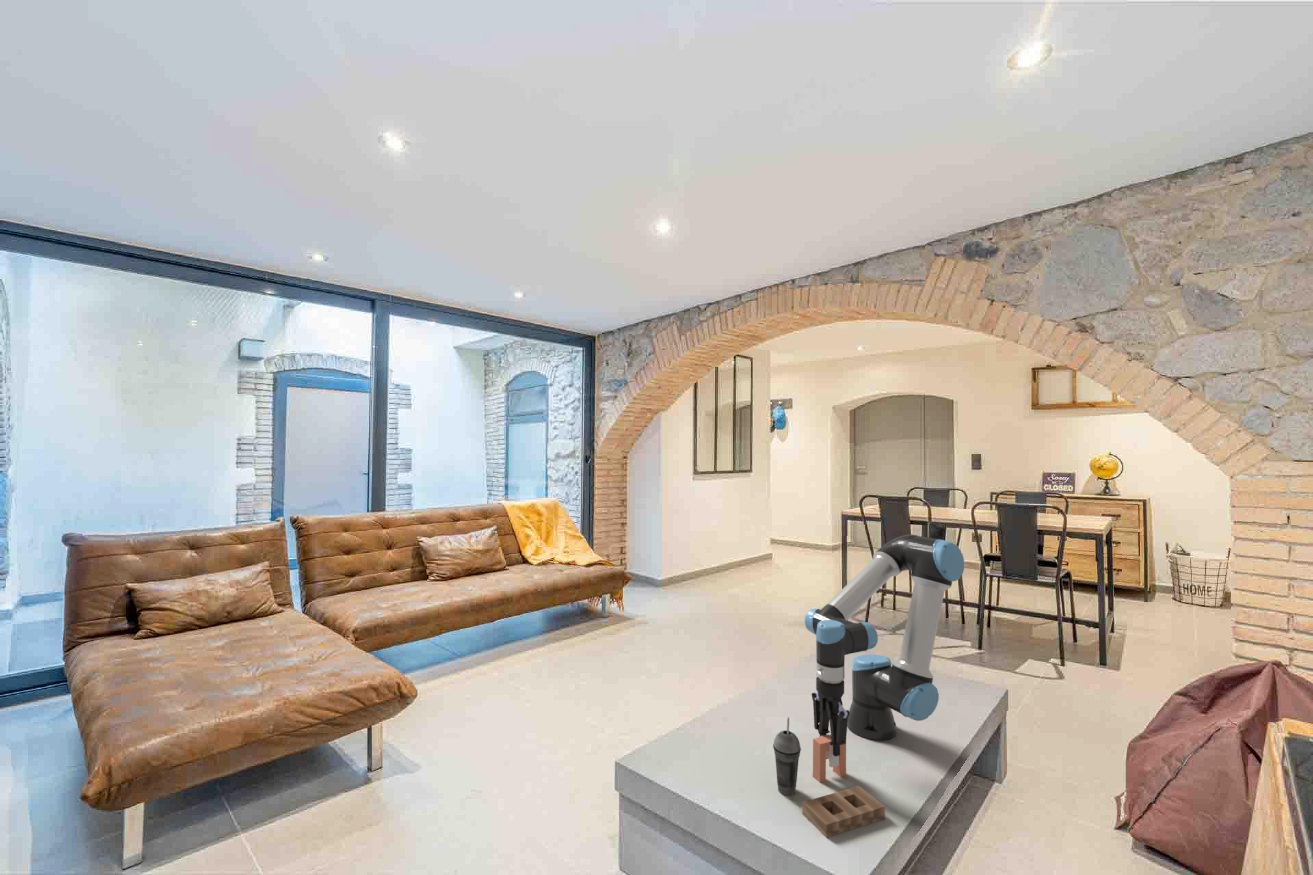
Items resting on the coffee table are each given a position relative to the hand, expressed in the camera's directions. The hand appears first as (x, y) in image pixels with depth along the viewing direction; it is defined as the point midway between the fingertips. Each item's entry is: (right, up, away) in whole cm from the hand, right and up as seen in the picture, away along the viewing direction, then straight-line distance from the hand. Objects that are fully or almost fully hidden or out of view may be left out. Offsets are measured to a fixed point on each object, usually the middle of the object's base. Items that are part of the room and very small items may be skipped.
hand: (829, 761), depth 158 cm
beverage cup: (-14, -4, -7) cm, 16 cm away
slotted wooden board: (-2, -4, -17) cm, 17 cm away
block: (0, -4, 0) cm, 4 cm away
